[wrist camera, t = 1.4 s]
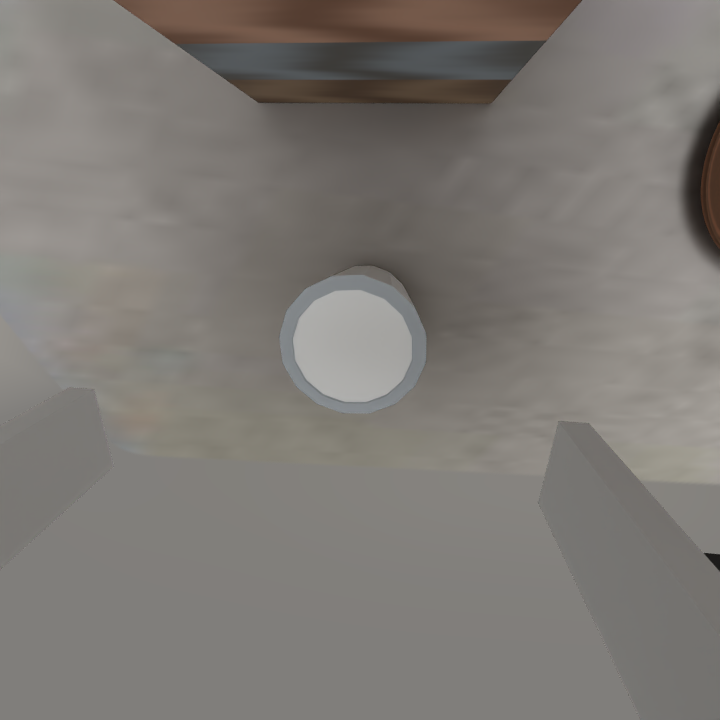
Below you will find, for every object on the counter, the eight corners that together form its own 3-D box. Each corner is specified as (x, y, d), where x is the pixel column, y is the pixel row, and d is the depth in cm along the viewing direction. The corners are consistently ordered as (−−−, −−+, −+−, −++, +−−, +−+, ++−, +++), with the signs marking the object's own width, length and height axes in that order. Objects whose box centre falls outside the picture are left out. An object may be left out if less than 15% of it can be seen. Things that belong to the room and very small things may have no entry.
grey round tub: (408, 369, 25) (411, 426, 19) (306, 351, 25) (274, 402, 19) (431, 264, 22) (443, 289, 16) (317, 245, 23) (283, 262, 16)
